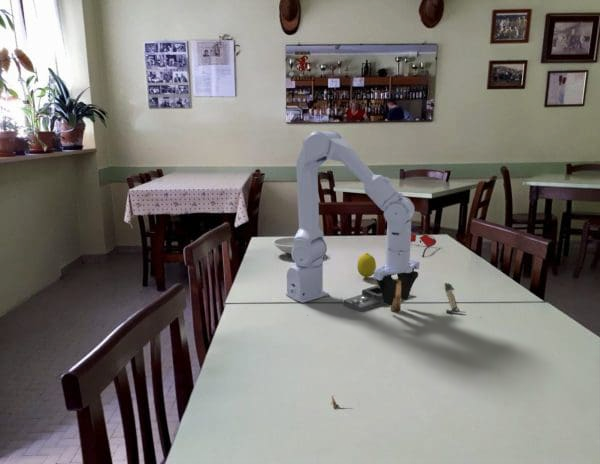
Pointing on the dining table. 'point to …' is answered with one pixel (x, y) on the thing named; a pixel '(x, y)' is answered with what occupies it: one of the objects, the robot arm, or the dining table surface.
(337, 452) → the dining table surface
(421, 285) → the dining table surface
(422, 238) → the glasses
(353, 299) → the chain joint
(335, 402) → the matchbox
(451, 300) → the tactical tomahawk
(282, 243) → the dish
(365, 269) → the lemon
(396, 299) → the copper pin
